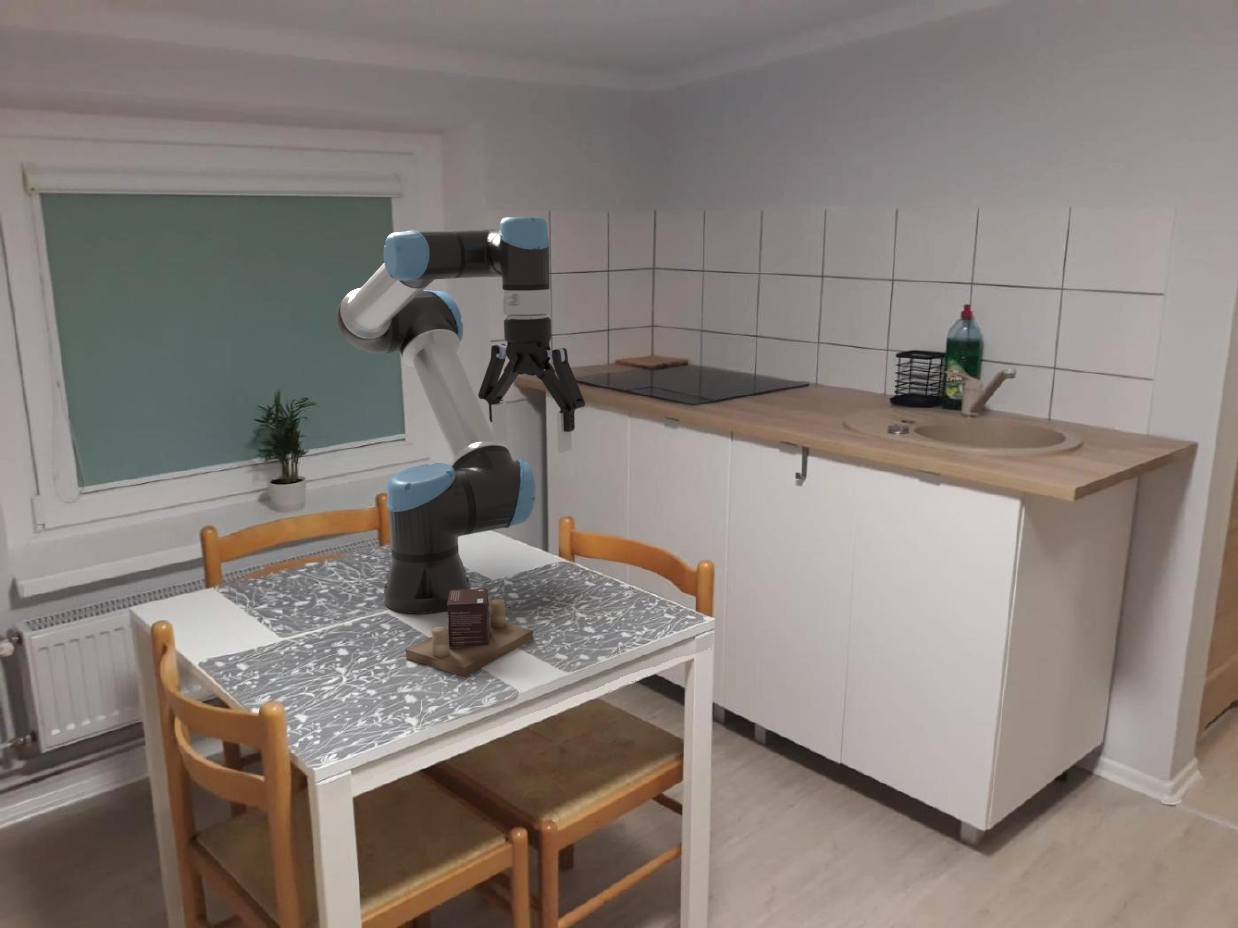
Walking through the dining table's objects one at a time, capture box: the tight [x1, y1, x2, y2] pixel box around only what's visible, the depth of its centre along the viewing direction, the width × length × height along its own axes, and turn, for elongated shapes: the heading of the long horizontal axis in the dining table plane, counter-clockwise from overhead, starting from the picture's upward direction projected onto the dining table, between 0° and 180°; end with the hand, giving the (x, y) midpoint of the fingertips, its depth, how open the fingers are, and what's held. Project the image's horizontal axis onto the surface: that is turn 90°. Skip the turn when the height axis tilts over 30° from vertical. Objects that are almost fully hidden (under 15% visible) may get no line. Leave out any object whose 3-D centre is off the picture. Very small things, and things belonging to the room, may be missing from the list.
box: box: [447, 588, 490, 648], centre depth 152 cm, size 6×6×7 cm
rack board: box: [405, 598, 534, 678], centre depth 153 cm, size 12×16×6 cm
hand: (531, 446), depth 162 cm, fingers open, 13 cm apart
